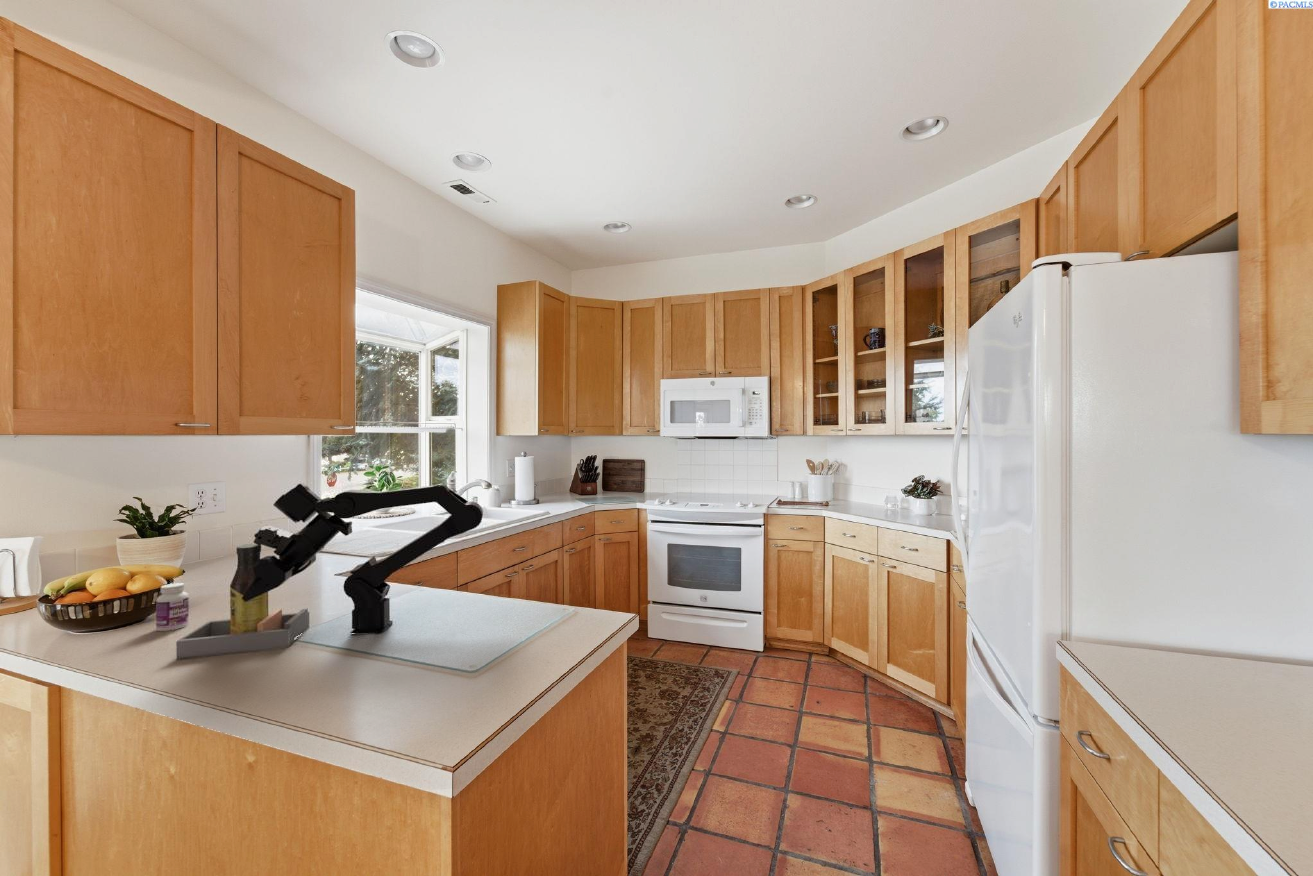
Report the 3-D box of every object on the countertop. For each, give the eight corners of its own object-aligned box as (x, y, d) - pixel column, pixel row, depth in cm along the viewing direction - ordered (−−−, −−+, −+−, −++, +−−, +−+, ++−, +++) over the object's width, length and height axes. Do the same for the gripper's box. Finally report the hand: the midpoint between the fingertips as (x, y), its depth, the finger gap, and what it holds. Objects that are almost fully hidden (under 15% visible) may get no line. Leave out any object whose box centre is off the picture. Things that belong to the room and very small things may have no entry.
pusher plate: (282, 628, 113) (282, 609, 113) (263, 644, 104) (263, 623, 104) (276, 629, 113) (276, 609, 113) (257, 645, 104) (257, 623, 104)
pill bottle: (173, 632, 114) (172, 588, 114) (149, 632, 114) (149, 588, 114) (195, 623, 119) (195, 581, 119) (172, 623, 119) (172, 581, 119)
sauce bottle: (236, 637, 109) (235, 543, 109) (272, 632, 112) (271, 540, 112) (225, 648, 103) (224, 549, 103) (263, 642, 106) (262, 546, 106)
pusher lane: (309, 627, 116) (309, 607, 116) (288, 647, 104) (288, 625, 104) (210, 637, 111) (210, 616, 111) (176, 659, 99) (176, 636, 99)
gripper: (299, 507, 118) (242, 559, 115) (263, 518, 101) (195, 580, 97) (338, 538, 121) (284, 590, 117) (310, 555, 103) (245, 617, 100)
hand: (254, 593), depth 108 cm, fingers open, 9 cm apart
